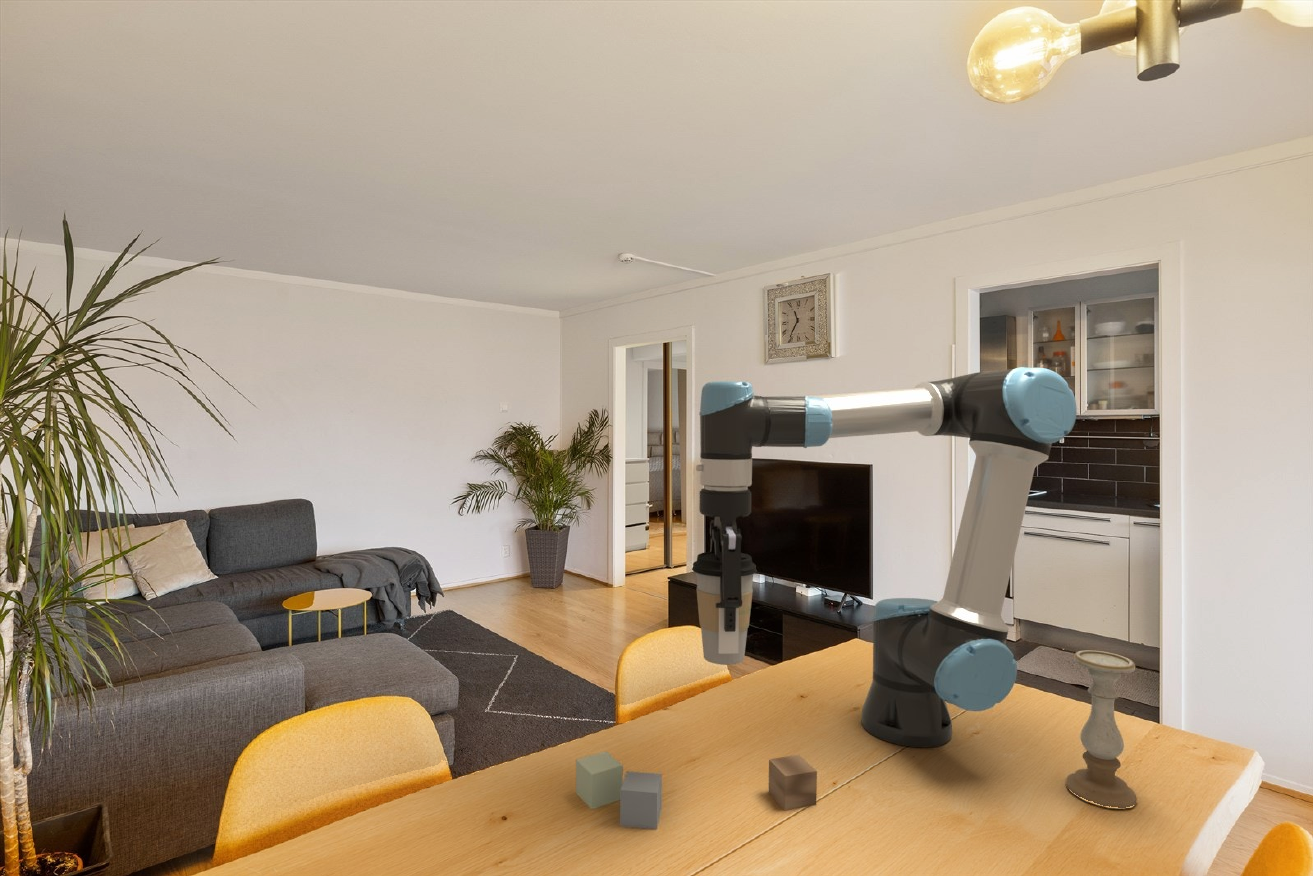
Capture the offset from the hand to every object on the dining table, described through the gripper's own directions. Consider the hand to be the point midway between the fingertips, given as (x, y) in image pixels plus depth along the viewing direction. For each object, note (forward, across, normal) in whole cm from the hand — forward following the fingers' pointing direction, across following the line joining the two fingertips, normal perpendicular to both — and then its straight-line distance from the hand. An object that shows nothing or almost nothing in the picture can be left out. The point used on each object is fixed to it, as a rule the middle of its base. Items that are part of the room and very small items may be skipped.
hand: (723, 642), depth 100 cm
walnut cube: (+22, +2, +10) cm, 25 cm away
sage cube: (+22, 0, -18) cm, 29 cm away
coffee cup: (+3, 0, 0) cm, 3 cm away
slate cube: (+22, +6, -12) cm, 26 cm away
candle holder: (+23, +2, +56) cm, 60 cm away
